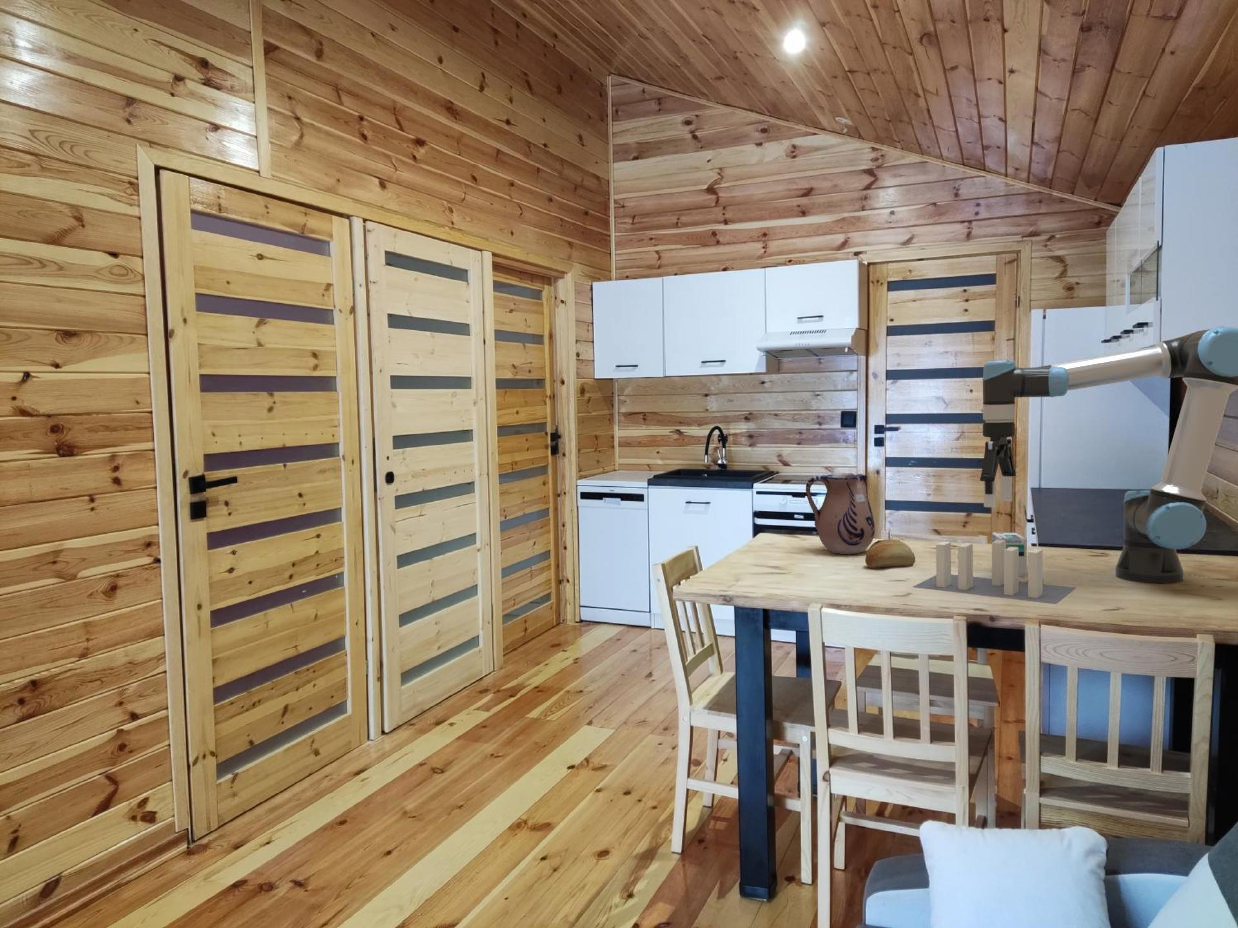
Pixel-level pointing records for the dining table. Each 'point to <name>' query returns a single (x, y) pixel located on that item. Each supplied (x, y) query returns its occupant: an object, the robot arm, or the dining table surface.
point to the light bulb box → (1015, 541)
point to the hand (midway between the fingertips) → (998, 504)
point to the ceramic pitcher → (843, 513)
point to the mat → (1000, 589)
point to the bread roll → (889, 554)
